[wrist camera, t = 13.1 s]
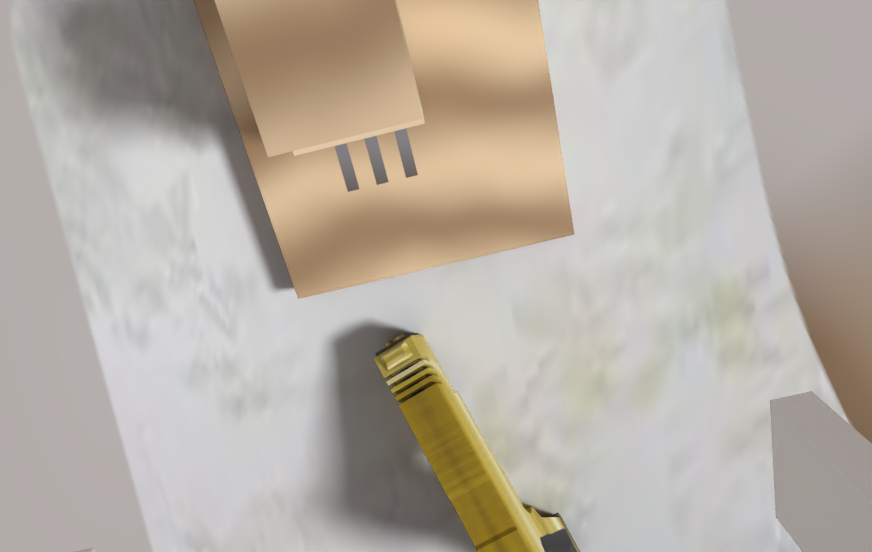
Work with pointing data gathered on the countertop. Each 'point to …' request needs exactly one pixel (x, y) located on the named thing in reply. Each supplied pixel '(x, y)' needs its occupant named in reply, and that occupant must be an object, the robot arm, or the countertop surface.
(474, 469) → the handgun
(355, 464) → the countertop surface
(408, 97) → the block
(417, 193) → the board
